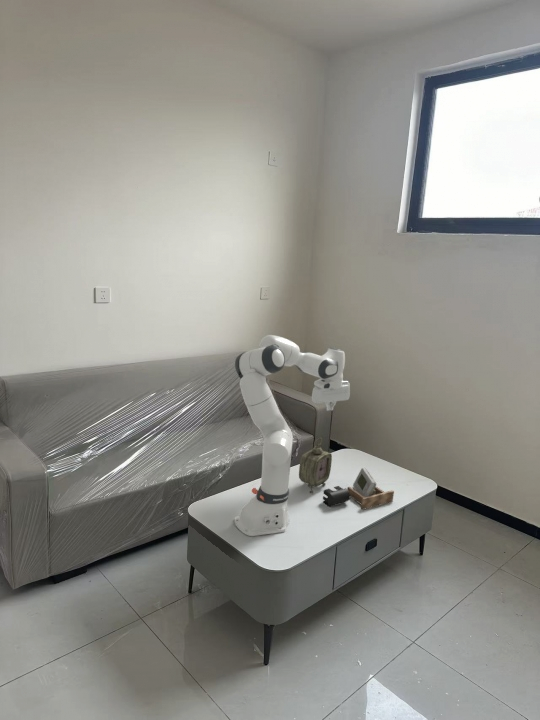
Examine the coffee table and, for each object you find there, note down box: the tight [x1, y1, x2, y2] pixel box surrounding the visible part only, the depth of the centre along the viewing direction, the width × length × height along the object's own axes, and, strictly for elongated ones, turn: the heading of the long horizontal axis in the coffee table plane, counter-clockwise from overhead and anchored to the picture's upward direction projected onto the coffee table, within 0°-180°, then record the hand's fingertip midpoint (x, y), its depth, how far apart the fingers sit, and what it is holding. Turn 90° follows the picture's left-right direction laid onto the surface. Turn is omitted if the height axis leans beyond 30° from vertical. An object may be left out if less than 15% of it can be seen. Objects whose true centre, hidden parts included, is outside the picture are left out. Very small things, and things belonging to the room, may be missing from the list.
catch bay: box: [346, 486, 395, 510], centre depth 228 cm, size 18×14×5 cm
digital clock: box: [352, 467, 377, 497], centre depth 229 cm, size 16×9×11 cm, turn 176°
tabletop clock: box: [298, 437, 333, 495], centre depth 231 cm, size 14×9×25 cm, turn 143°
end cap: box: [322, 485, 351, 508], centre depth 221 cm, size 10×7×7 cm
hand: (329, 410), depth 236 cm, fingers closed
